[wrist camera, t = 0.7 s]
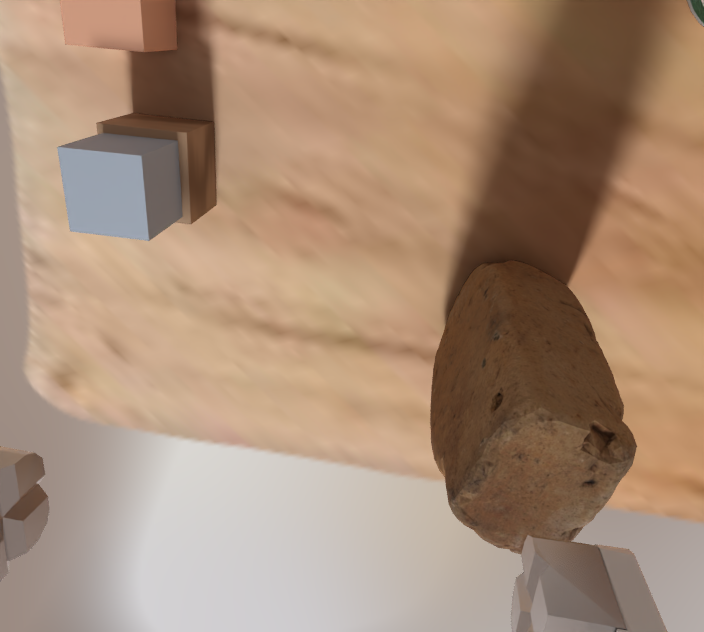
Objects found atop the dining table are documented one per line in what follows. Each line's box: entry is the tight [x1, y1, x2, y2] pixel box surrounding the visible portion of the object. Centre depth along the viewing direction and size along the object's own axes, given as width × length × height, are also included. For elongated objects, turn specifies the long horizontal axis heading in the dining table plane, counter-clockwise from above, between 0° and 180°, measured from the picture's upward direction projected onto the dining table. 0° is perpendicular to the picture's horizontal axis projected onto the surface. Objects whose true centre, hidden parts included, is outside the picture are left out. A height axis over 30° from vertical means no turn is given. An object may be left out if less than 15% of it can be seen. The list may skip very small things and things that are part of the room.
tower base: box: [96, 113, 216, 224], centre depth 41 cm, size 6×6×5 cm
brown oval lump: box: [430, 260, 637, 554], centre depth 36 cm, size 11×8×20 cm
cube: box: [60, 0, 177, 52], centre depth 36 cm, size 5×5×5 cm
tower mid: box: [57, 133, 183, 241], centre depth 36 cm, size 5×5×5 cm
